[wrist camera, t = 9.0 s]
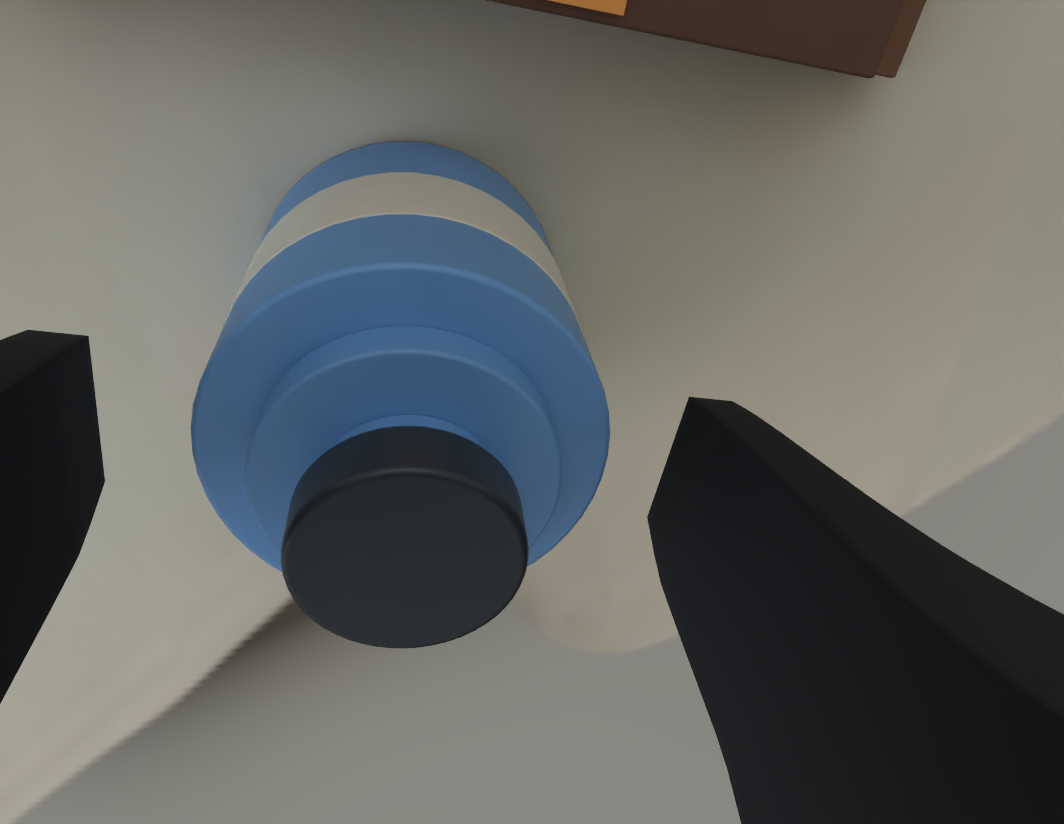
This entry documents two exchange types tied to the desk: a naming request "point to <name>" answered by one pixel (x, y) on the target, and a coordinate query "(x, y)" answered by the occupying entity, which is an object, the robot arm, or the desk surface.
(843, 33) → the snack bar
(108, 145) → the desk surface
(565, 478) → the bottle
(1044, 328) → the desk surface
